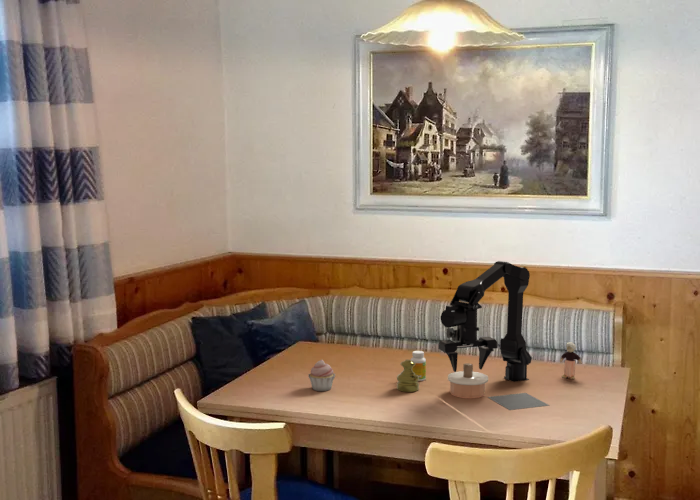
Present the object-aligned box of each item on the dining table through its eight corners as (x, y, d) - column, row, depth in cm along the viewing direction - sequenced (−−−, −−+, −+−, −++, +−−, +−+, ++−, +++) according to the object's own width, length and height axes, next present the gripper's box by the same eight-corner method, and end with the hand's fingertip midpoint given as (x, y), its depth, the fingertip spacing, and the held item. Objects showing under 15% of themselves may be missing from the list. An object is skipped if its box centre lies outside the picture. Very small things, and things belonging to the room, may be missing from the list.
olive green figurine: (412, 393, 256) (412, 363, 255) (392, 390, 260) (392, 360, 259) (422, 388, 262) (423, 359, 261) (403, 384, 266) (403, 356, 265)
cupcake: (341, 388, 262) (341, 359, 261) (321, 394, 256) (321, 364, 254) (322, 383, 269) (321, 354, 268) (302, 389, 262) (301, 359, 261)
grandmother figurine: (558, 378, 274) (559, 342, 272) (559, 375, 277) (560, 340, 276) (580, 380, 271) (581, 344, 269) (582, 377, 274) (583, 341, 273)
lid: (476, 372, 262) (476, 358, 262) (495, 382, 250) (495, 367, 250) (441, 376, 258) (441, 361, 258) (458, 386, 246) (459, 371, 246)
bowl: (474, 388, 262) (474, 373, 261) (490, 397, 251) (490, 382, 251) (444, 391, 258) (445, 376, 258) (459, 401, 248) (460, 385, 247)
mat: (525, 394, 255) (525, 392, 255) (549, 406, 242) (549, 405, 242) (487, 398, 251) (487, 396, 250) (509, 411, 237) (509, 410, 237)
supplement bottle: (424, 381, 270) (425, 354, 269) (409, 380, 271) (409, 353, 270) (426, 377, 275) (426, 350, 274) (411, 376, 276) (411, 349, 275)
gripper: (482, 316, 263) (481, 362, 264) (431, 320, 257) (431, 366, 259) (498, 323, 252) (497, 370, 254) (446, 327, 246) (445, 375, 248)
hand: (467, 370), depth 254 cm, fingers open, 9 cm apart
